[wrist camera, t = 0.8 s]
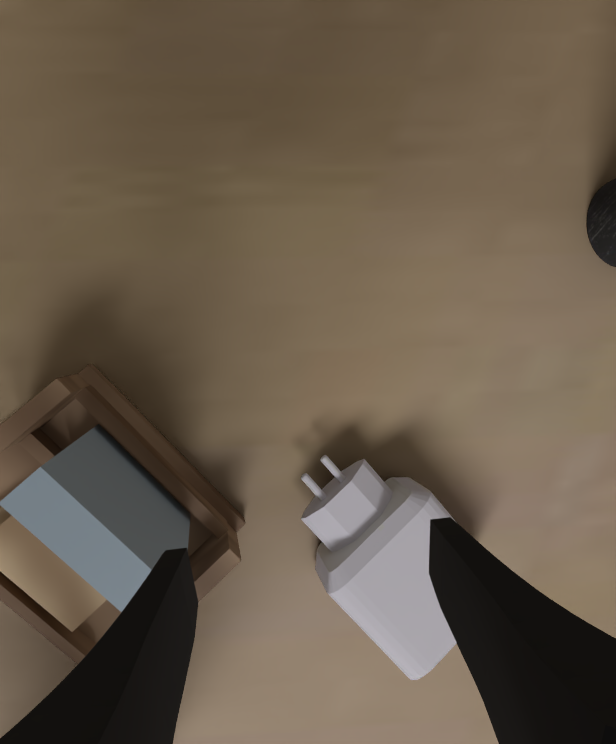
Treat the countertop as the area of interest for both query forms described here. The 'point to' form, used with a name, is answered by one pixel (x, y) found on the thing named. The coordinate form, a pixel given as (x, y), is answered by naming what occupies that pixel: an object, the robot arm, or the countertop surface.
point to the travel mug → (603, 223)
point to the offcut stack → (45, 575)
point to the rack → (150, 449)
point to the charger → (381, 561)
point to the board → (101, 514)
